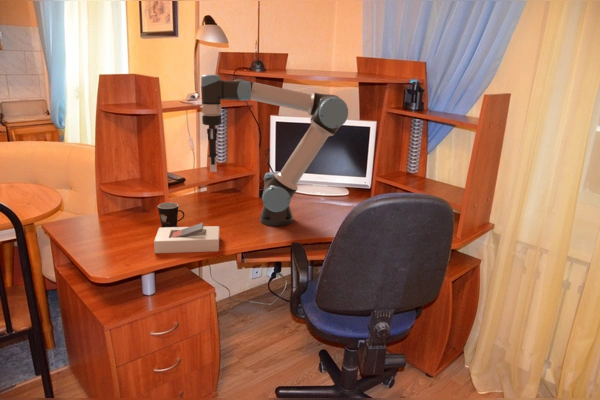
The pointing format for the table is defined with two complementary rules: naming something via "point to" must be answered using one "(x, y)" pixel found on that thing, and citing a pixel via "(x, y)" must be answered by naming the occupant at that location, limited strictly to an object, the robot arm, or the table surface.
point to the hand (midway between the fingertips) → (213, 171)
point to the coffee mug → (169, 214)
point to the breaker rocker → (188, 231)
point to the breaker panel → (187, 240)
